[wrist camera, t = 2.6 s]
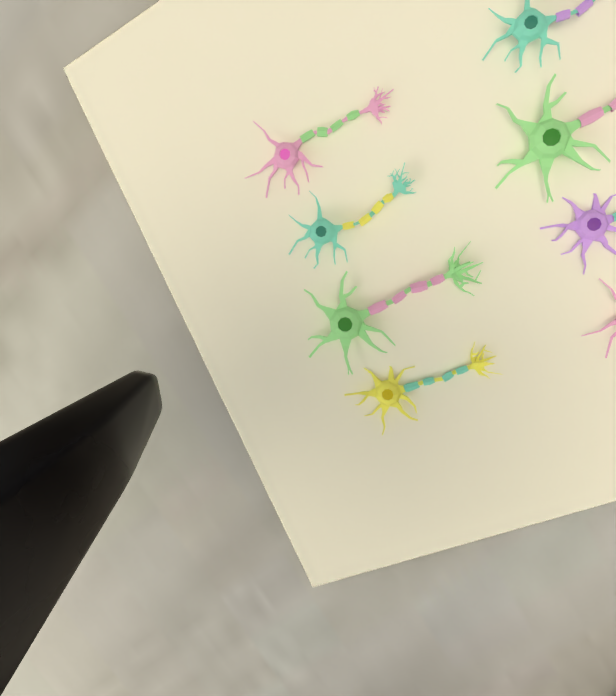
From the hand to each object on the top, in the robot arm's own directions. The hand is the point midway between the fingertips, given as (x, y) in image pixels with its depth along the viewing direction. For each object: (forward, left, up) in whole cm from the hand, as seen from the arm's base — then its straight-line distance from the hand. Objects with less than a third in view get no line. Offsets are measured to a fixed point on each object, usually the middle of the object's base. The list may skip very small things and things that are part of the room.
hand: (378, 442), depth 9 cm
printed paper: (+6, -2, -16) cm, 17 cm away
